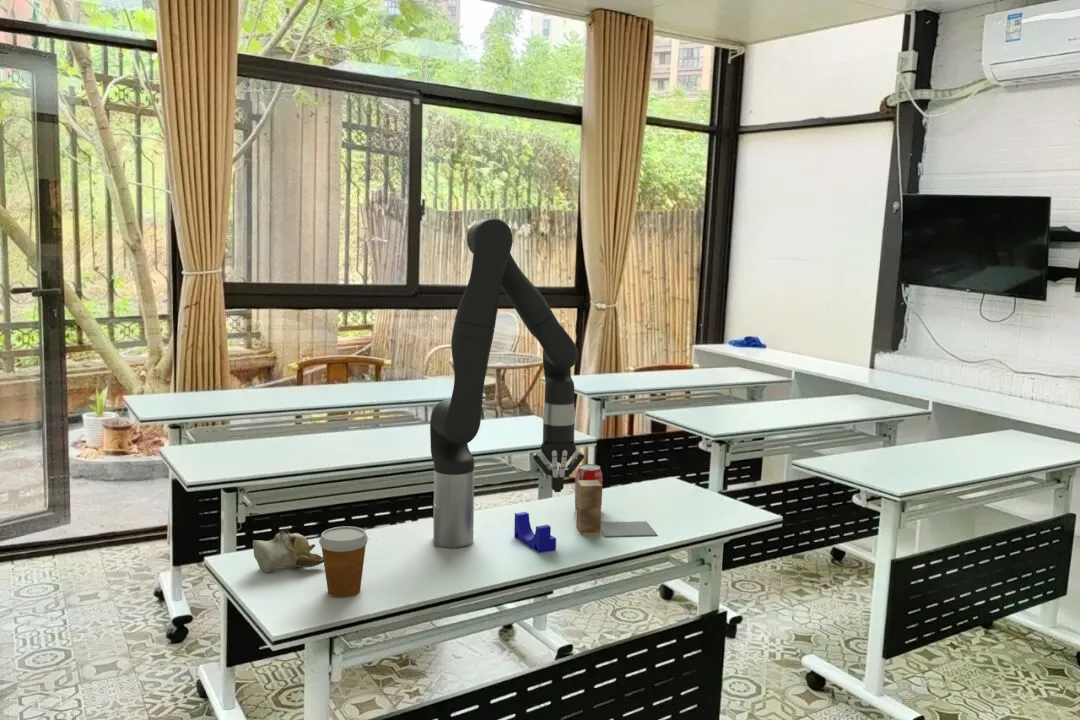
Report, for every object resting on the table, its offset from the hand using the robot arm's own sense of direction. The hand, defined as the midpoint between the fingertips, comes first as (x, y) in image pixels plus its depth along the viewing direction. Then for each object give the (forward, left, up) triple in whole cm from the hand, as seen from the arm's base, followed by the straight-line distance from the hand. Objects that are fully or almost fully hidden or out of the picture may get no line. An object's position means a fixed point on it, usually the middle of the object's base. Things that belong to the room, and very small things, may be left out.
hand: (557, 491), depth 212 cm
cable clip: (-6, -8, -10) cm, 15 cm away
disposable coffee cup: (-48, -32, -10) cm, 59 cm away
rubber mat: (+17, 0, -10) cm, 20 cm away
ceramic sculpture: (-61, -18, -10) cm, 64 cm away
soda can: (+11, +15, -10) cm, 21 cm away
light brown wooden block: (+8, 0, -10) cm, 13 cm away
